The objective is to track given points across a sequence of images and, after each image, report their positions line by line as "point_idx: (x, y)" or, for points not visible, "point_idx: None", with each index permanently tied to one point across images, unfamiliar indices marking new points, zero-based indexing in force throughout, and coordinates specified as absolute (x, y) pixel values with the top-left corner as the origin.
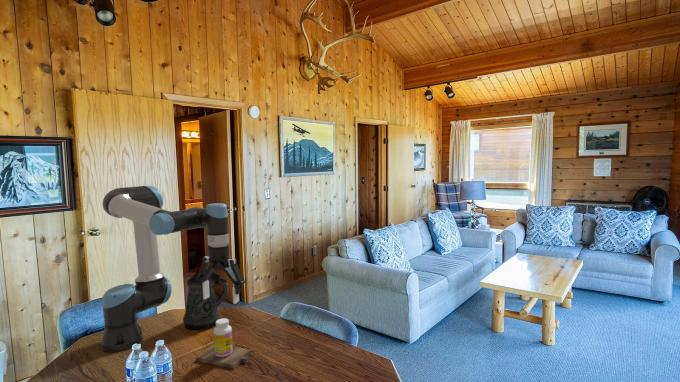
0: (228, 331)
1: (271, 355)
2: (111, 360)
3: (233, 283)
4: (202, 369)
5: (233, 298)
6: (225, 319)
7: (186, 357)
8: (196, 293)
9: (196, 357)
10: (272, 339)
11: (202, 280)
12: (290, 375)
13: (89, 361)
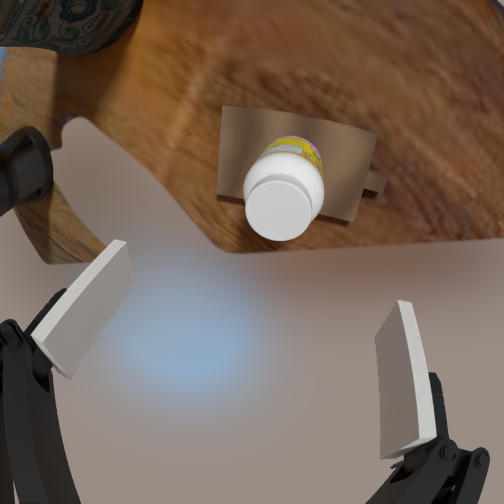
0: (320, 209)
1: (438, 144)
2: (66, 218)
3: (389, 481)
4: None
5: (382, 369)
6: (287, 195)
7: (182, 178)
8: (11, 36)
9: (219, 194)
10: (409, 39)
11: (47, 383)
12: (484, 236)
13: (48, 226)
